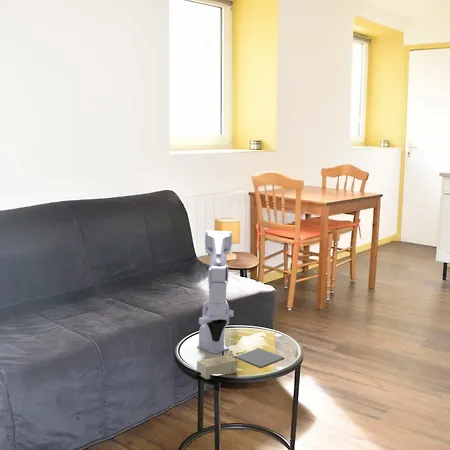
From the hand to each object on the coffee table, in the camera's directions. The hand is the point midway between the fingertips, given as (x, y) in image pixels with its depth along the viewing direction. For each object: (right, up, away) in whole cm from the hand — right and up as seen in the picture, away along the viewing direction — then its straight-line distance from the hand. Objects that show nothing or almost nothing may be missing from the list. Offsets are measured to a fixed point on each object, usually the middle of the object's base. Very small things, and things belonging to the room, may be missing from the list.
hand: (215, 340), depth 192 cm
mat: (+16, -9, +14) cm, 23 cm away
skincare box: (+6, -8, +3) cm, 10 cm away
